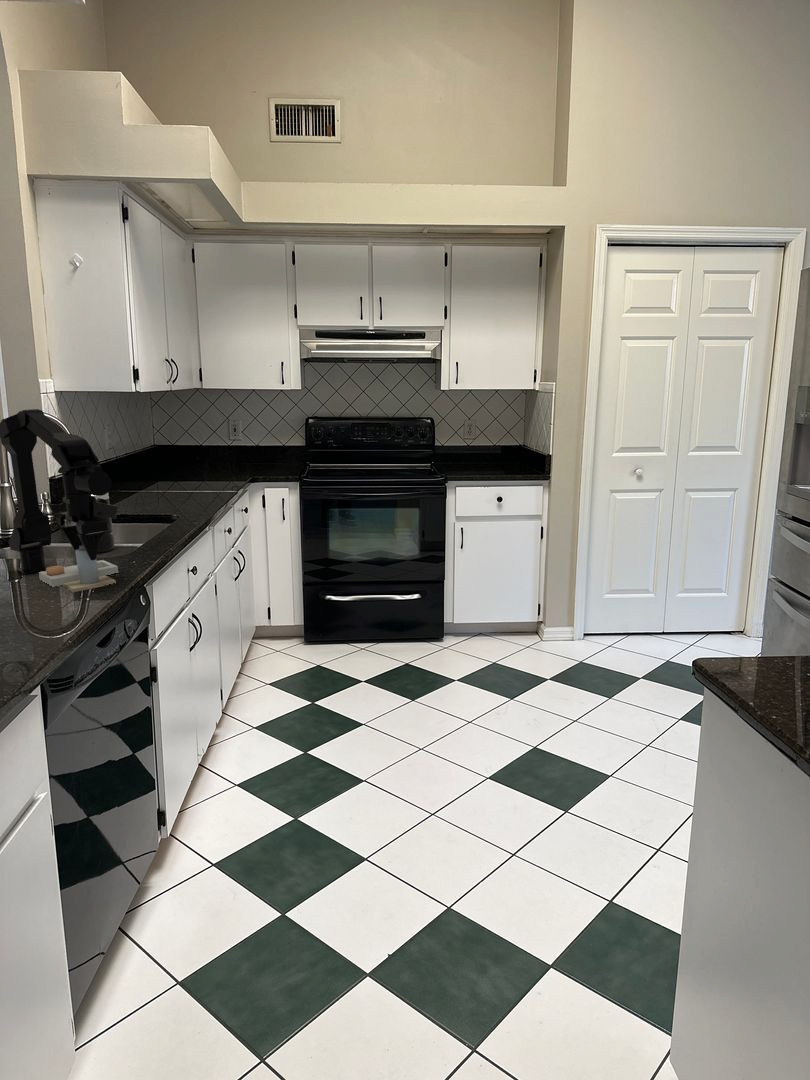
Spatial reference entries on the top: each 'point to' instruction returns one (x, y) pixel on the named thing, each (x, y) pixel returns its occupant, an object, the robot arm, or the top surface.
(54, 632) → the top surface
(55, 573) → the plunger
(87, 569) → the cylinder
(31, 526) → the robot arm
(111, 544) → the black cylindrical canister
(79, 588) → the pad
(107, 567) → the white tray
